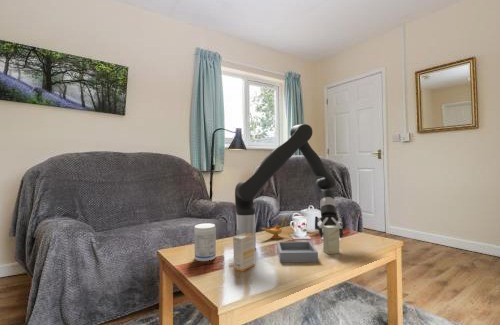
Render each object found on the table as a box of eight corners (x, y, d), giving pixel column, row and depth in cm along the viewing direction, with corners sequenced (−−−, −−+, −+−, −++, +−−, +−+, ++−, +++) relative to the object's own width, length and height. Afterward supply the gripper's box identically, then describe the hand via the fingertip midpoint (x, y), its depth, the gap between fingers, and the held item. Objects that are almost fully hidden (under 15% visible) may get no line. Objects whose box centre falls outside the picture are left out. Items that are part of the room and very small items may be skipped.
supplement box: (246, 262, 115) (245, 232, 115) (255, 265, 112) (254, 233, 112) (233, 269, 108) (232, 236, 108) (242, 271, 105) (241, 238, 105)
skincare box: (328, 254, 123) (327, 227, 123) (322, 251, 127) (322, 225, 127) (340, 253, 125) (339, 226, 125) (334, 250, 129) (334, 224, 129)
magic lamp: (256, 238, 152) (256, 218, 152) (283, 234, 160) (283, 215, 160) (262, 241, 145) (262, 221, 145) (290, 236, 154) (289, 217, 154)
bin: (280, 262, 115) (279, 252, 115) (277, 250, 131) (277, 241, 131) (318, 261, 114) (317, 252, 114) (310, 249, 130) (310, 241, 130)
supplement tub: (197, 254, 126) (196, 223, 126) (217, 254, 126) (216, 222, 126) (192, 262, 117) (191, 228, 117) (214, 261, 116) (213, 227, 116)
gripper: (313, 203, 136) (315, 232, 124) (343, 203, 133) (348, 233, 122) (313, 212, 141) (315, 240, 130) (342, 212, 138) (346, 241, 127)
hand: (331, 237), depth 126 cm, fingers open, 8 cm apart
